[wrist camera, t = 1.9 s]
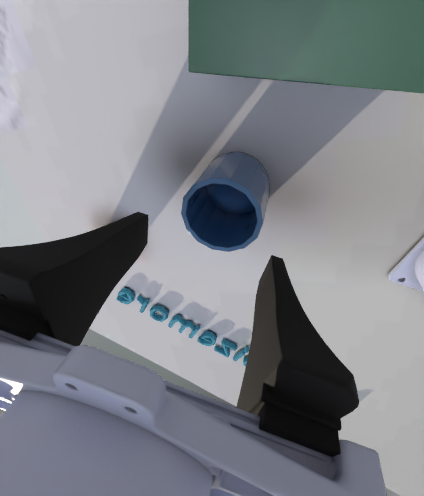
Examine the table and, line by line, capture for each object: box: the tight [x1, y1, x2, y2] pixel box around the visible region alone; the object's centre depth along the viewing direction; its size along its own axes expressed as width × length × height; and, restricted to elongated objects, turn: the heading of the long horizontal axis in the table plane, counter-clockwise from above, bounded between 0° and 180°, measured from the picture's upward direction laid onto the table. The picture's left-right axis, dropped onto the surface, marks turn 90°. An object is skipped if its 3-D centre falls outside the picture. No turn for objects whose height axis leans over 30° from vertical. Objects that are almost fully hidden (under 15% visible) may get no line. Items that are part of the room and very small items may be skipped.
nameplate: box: [117, 288, 249, 366], centre depth 35 cm, size 37×1×5 cm
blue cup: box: [181, 152, 269, 252], centre depth 19 cm, size 6×6×6 cm
